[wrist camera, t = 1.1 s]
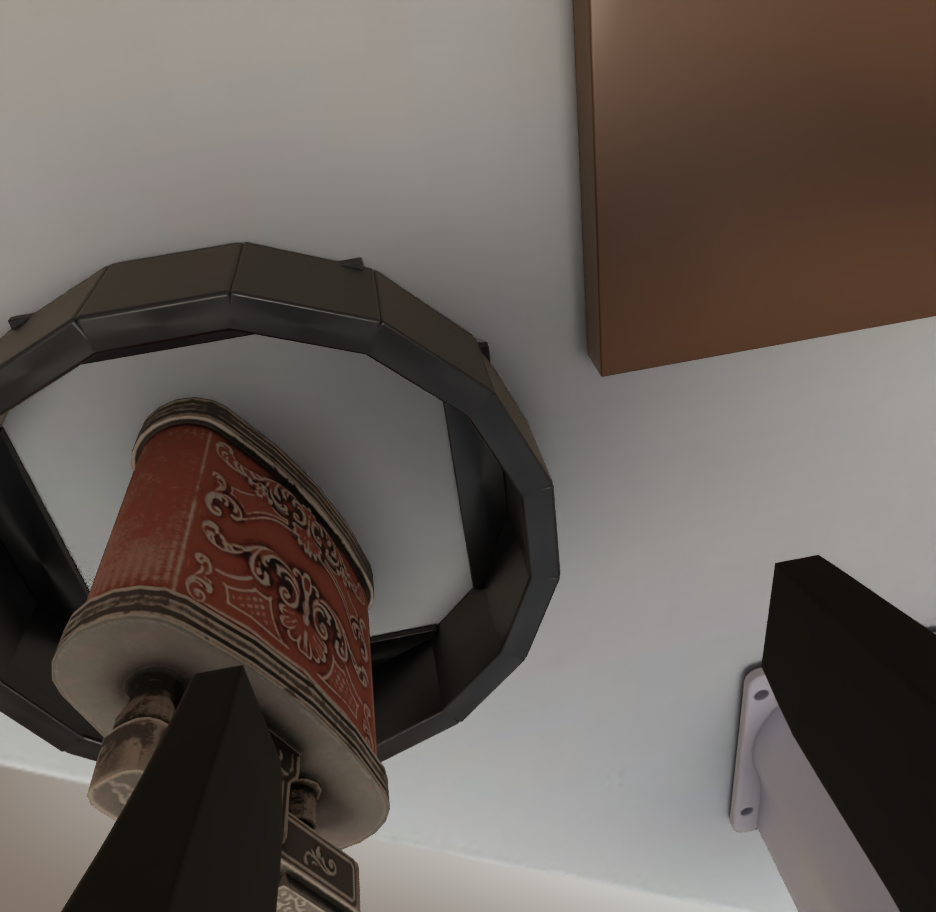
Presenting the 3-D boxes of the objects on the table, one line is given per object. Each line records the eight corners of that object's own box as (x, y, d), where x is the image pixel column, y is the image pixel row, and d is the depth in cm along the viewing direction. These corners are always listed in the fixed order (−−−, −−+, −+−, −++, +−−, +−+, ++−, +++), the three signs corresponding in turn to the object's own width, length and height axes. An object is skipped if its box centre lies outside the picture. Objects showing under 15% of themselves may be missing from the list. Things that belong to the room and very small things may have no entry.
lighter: (104, 442, 19) (-62, 815, 11) (215, 371, 19) (128, 709, 11) (303, 630, 24) (291, 1002, 15) (399, 577, 23) (440, 933, 15)
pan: (548, 650, 26) (572, 725, 23) (-137, 788, 25) (-189, 883, 22) (485, -21, 15) (516, -13, 13) (-708, 161, 14) (-930, 207, 12)
